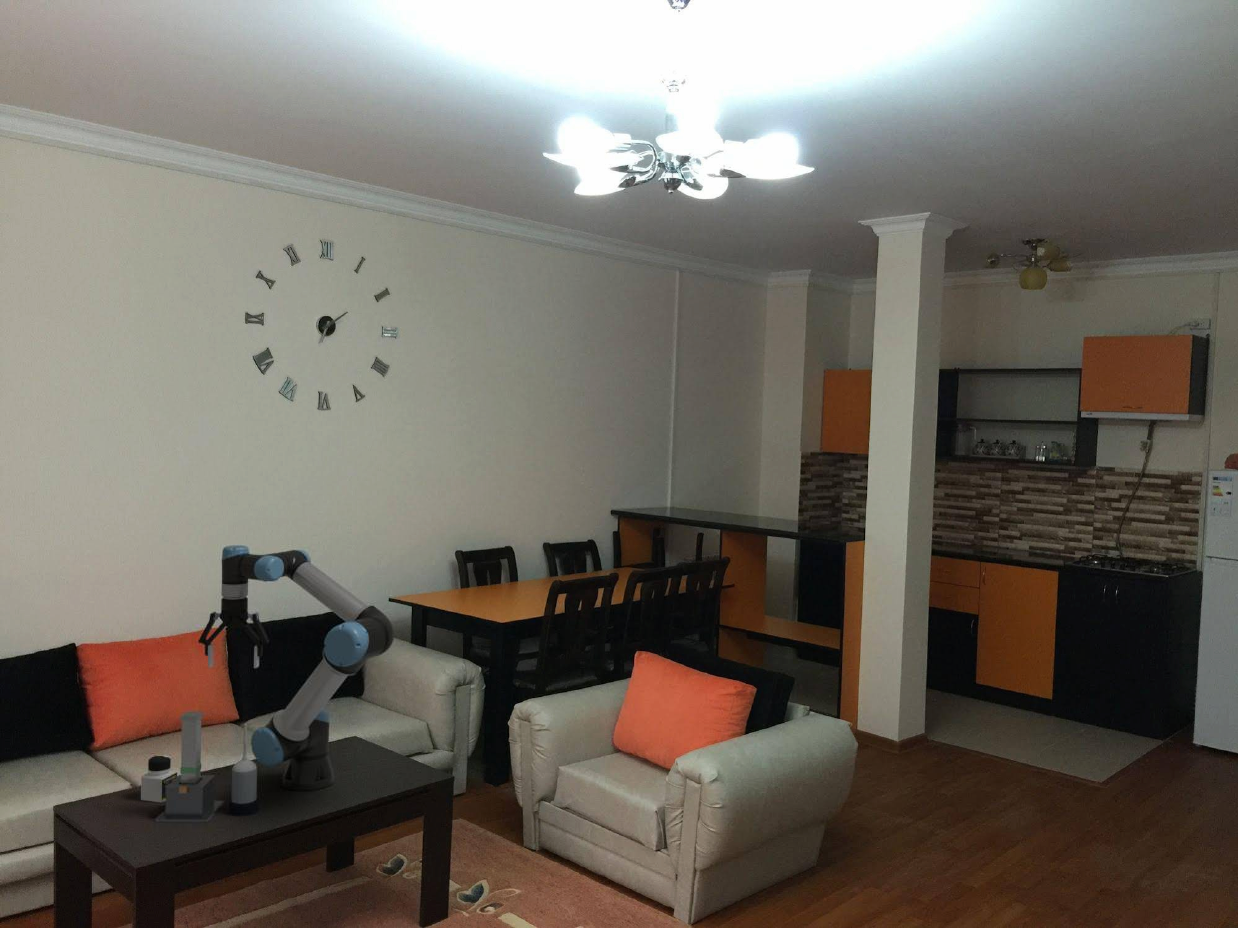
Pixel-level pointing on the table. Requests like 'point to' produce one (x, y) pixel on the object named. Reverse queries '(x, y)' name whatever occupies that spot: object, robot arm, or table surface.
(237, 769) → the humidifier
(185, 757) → the column
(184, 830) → the table surface
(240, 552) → the robot arm
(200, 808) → the stand housing
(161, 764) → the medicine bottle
